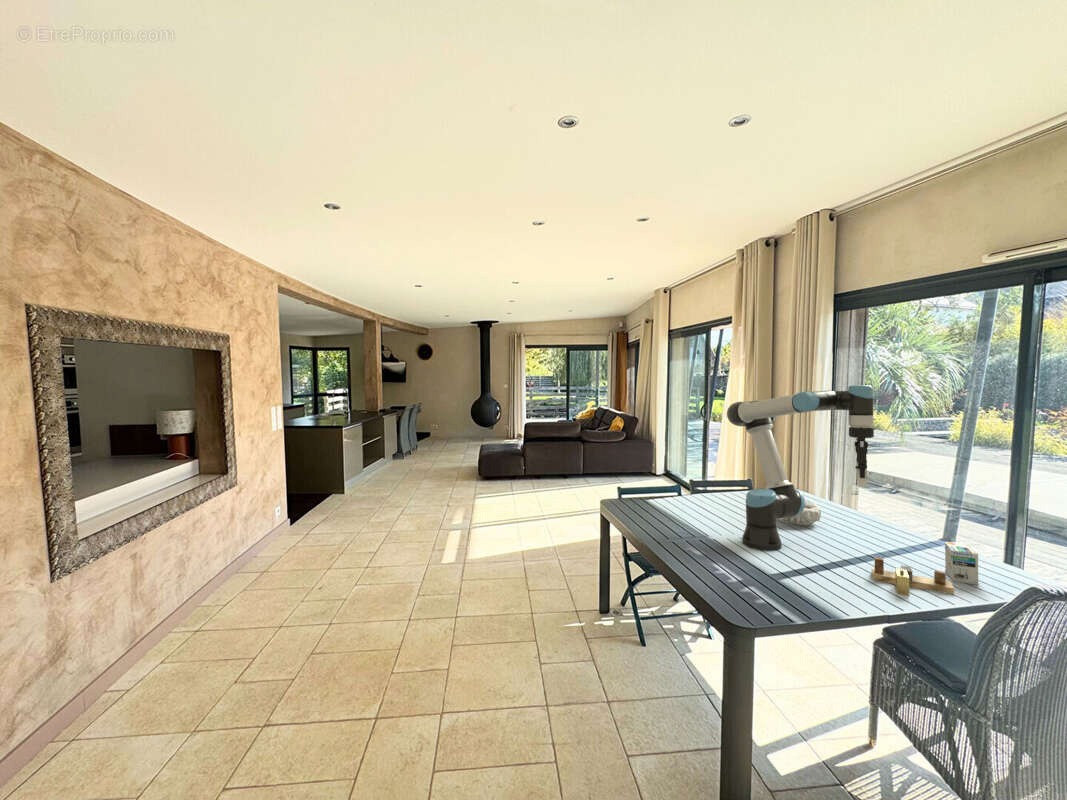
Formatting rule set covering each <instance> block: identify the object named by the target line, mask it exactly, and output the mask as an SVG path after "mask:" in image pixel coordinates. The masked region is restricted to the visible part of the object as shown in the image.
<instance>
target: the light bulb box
mask: <svg viewBox="0 0 1067 800" xmlns="http://www.w3.org/2000/svg"><path fill="white" fill-rule="evenodd" d="M944 551H945V552H944V556H945V558H944V561H945V562H944V563H945V568H944V569H945V570H944V572H945V573H946V574H947V575H948V577H950V579H951V581H952V582H957V583H958V582H959V583H964V584H970V585H977V586H979V553H977V552H976V551H975V550H974V549H973V548H972V547H971V546H970V545H969V544H965V543H956V542H949V541H945V542H944Z"/></svg>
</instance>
